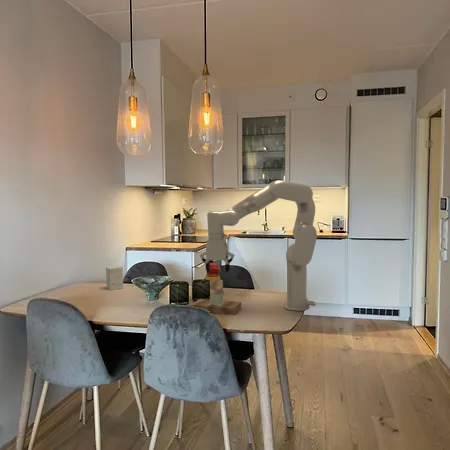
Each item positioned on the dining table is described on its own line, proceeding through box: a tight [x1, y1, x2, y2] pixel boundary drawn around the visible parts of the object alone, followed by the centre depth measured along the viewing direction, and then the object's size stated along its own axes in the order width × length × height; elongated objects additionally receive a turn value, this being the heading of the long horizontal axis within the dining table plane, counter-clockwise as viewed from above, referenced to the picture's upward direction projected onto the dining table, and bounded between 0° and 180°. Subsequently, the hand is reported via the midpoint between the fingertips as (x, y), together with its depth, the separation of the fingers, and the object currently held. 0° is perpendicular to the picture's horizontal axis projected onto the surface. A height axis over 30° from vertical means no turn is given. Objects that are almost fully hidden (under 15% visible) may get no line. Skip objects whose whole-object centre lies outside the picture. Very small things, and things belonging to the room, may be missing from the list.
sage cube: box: [209, 293, 224, 305], centre depth 196 cm, size 5×5×5 cm
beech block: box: [210, 279, 224, 295], centre depth 196 cm, size 5×5×6 cm
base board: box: [190, 298, 242, 316], centre depth 196 cm, size 22×12×3 cm, turn 73°
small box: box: [105, 265, 124, 291], centre depth 242 cm, size 8×6×13 cm
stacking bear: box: [204, 262, 224, 294], centre depth 226 cm, size 11×10×18 cm
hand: (217, 271), depth 195 cm, fingers open, 9 cm apart
